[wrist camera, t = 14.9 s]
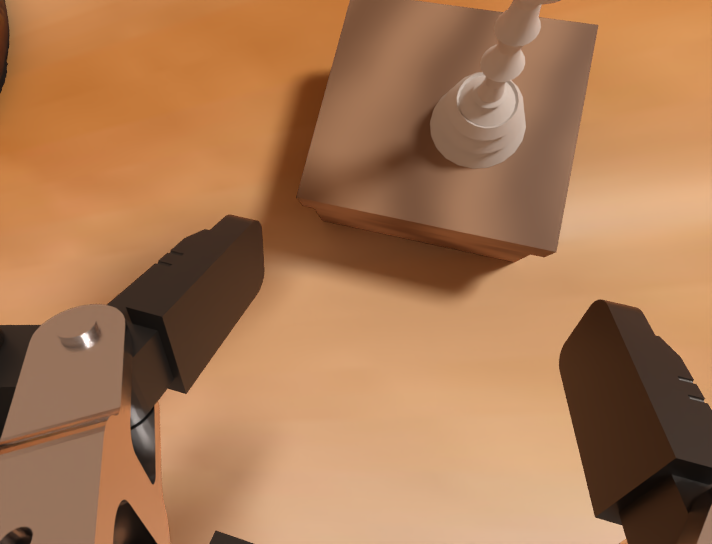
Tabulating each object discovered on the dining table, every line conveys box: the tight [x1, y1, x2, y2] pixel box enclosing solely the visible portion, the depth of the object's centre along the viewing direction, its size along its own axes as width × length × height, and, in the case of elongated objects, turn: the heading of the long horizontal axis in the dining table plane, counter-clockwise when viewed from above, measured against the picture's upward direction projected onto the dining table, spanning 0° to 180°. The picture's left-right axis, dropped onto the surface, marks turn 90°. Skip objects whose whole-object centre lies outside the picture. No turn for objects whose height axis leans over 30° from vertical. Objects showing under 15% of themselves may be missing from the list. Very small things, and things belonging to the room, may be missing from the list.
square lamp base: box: [296, 0, 598, 262], centre depth 23 cm, size 14×13×5 cm
